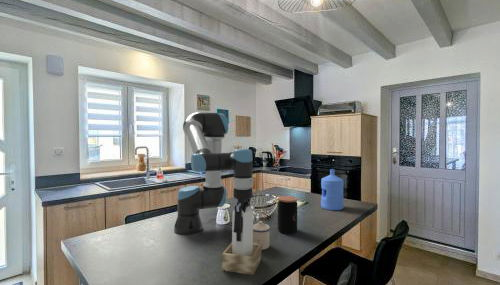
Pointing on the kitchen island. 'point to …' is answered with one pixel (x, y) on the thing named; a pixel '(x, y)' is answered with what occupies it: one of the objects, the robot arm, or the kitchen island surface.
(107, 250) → the kitchen island surface
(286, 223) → the coffee jar
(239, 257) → the holder
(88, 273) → the kitchen island surface
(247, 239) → the milk
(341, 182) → the water jug
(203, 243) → the kitchen island surface
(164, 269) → the kitchen island surface
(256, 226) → the teacup with lid
